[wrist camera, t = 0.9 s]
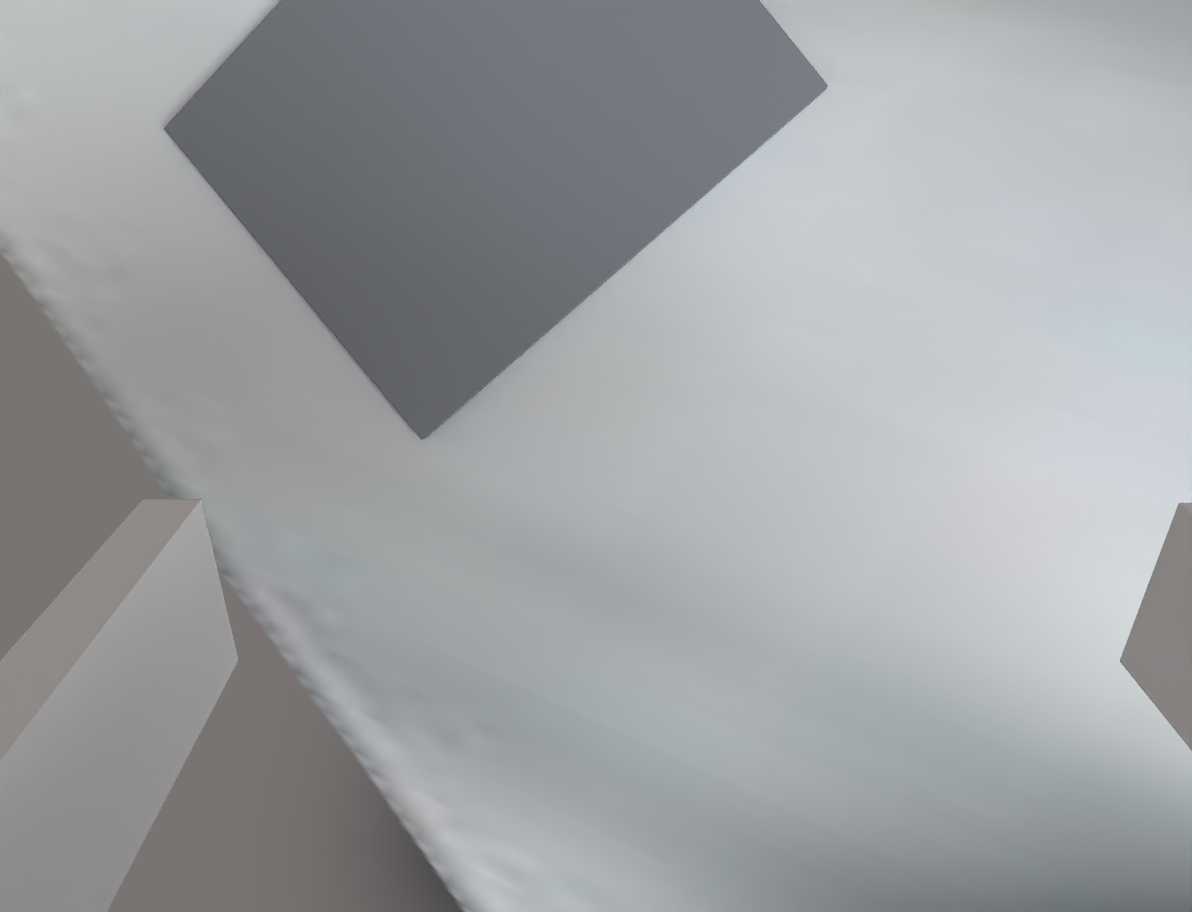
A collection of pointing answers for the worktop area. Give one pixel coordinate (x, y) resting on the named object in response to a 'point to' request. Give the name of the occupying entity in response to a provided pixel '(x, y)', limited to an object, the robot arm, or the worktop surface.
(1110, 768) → the worktop surface
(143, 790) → the robot arm
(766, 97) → the mat
